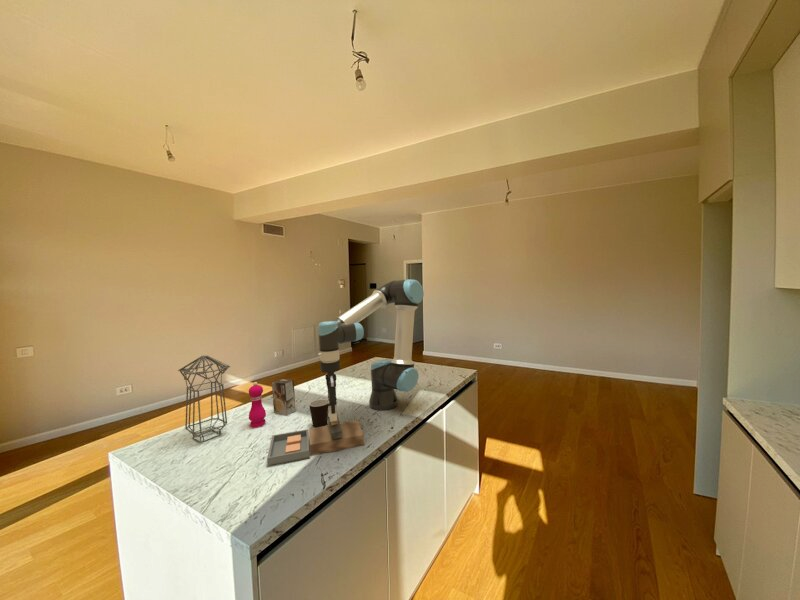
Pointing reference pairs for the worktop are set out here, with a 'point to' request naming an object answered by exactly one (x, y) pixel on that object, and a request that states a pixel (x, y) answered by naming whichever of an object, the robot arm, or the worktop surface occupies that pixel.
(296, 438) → the tile
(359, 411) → the worktop surface
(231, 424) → the worktop surface
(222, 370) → the geometric lantern
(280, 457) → the tray
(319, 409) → the coffee mug
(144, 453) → the worktop surface
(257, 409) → the pepper mill
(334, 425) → the scraper
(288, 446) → the tile
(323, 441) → the brown flat wooden block
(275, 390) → the coffee box
